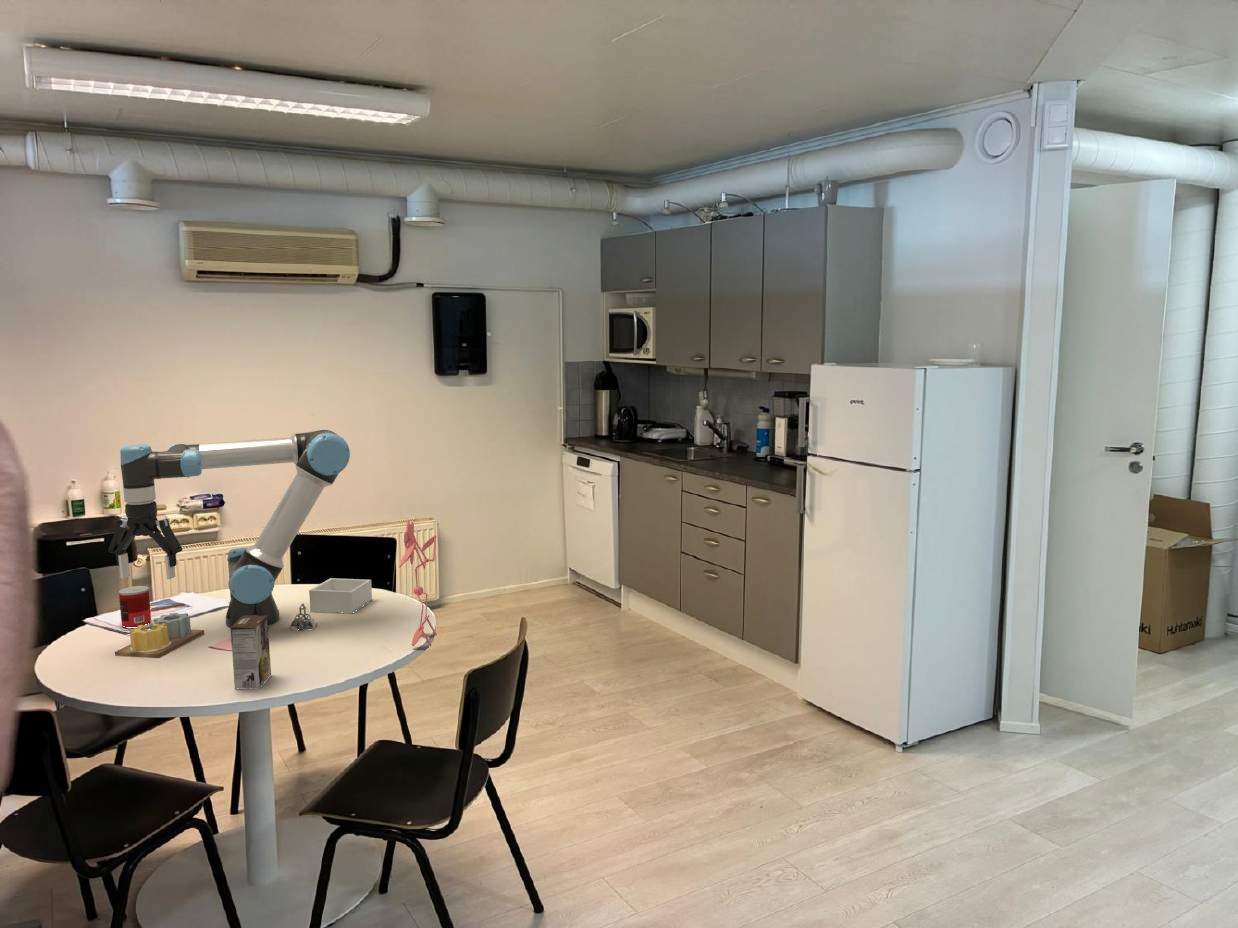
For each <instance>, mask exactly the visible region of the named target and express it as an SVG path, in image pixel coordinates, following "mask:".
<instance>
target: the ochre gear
mask: <svg viewBox="0 0 1238 928" xmlns="http://www.w3.org/2000/svg"><path fill="white" fill-rule="evenodd" d="M150 624H151V625H152V627H154V630H148V631H144V629H145V628H147V625H139V626H137V628H133V629H129V635H130V636H129V637H130V644H131V648H133V651H137V650H143V652H144V651H148V650H151V649H160V648H162V646H164V645H168V644H169V637H168V626H166V624H165V623H163V624H156V623H154V622H151V623H150Z"/></svg>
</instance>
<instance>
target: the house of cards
mask: <svg viewBox="0 0 1238 928" xmlns="http://www.w3.org/2000/svg"><path fill="white" fill-rule="evenodd" d="M302 610H303V613H302ZM298 611H299V613H297V614H296V615H295V617H294V619H293V620H292V622H291V623H290V625H289V630H290V629H291V630H294V629H297V630H298V629H302V630H303V629H314V630H315V627H316V628H317V625H318V622H316V620H315V618H313V617H312V616H311V613H307V607H306V606H305V603H302V604H300V606H299V609H298ZM297 630H296V631H297ZM302 630H301V631H302ZM298 631H299V630H298ZM303 631H304V630H303Z"/></svg>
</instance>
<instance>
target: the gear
mask: <svg viewBox="0 0 1238 928" xmlns="http://www.w3.org/2000/svg"><path fill="white" fill-rule="evenodd" d="M153 623H156V624H163V623H165V624H166V626H168V637H169V640H171V639H172V638H177V637H180V638H182V637H185V635H186V634H190V633H191V630H192V627H191V616H190V615H189V613H187V612H184V613H178V612H170V613H169V614H161V615H160V617H155V618H154V619H153Z"/></svg>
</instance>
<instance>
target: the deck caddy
mask: <svg viewBox="0 0 1238 928" xmlns="http://www.w3.org/2000/svg"><path fill="white" fill-rule="evenodd" d="M308 592H309V593H308V594H309V611H310V613H322V612H330V613H329V614H337V613H336V612H339V613H338V614H345V613H353V612H355V611H356V610H358V609H359V610H361V609H362V608H363V607H362V606H363V605H365V606H366V605H368V604H369V603H371V602H372V601H373V591H372V579H359V578H357V579H356V578H355V579H354V578H332V577H330V578H328V579H327V580H325V581H324V582H321V583H319V584H318V585H316V586H314V587H313V588H311V589H309V590H308ZM370 601H371V602H370ZM368 602H369V603H368ZM367 603H368V604H367ZM361 607H362V608H361ZM360 608H361V609H360ZM359 610H358V611H359ZM332 612H334V613H332ZM341 612H343V613H341ZM356 612H357V611H356ZM356 612H355V613H356ZM353 614H354V613H353Z"/></svg>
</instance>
